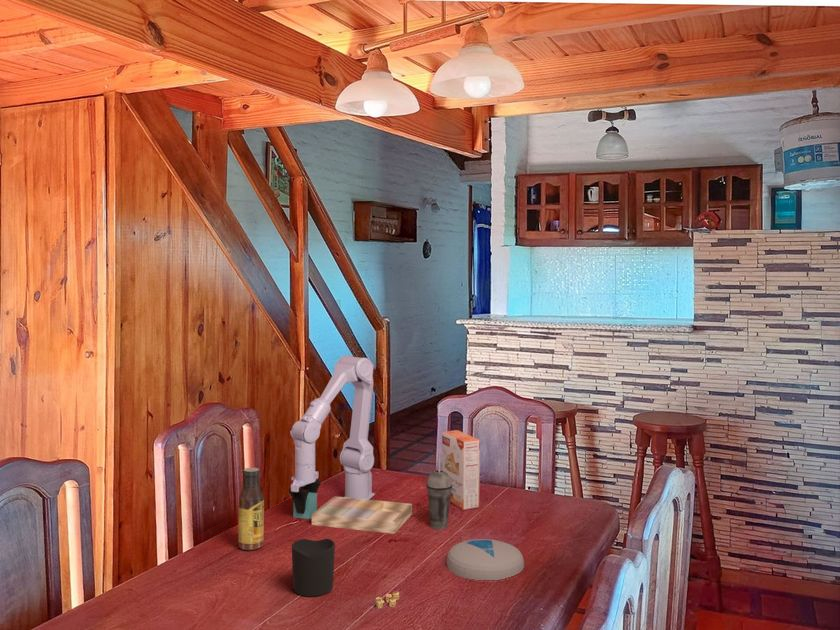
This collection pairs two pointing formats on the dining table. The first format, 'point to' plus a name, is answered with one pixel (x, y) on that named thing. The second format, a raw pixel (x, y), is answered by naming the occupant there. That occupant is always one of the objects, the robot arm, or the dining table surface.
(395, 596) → the popcorn pieces
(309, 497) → the teal block
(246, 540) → the sauce bottle
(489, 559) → the grey thick round disc
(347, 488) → the robot arm
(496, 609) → the dining table surface
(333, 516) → the puzzle board
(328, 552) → the pen holder
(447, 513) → the beverage cup
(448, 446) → the cracker box
